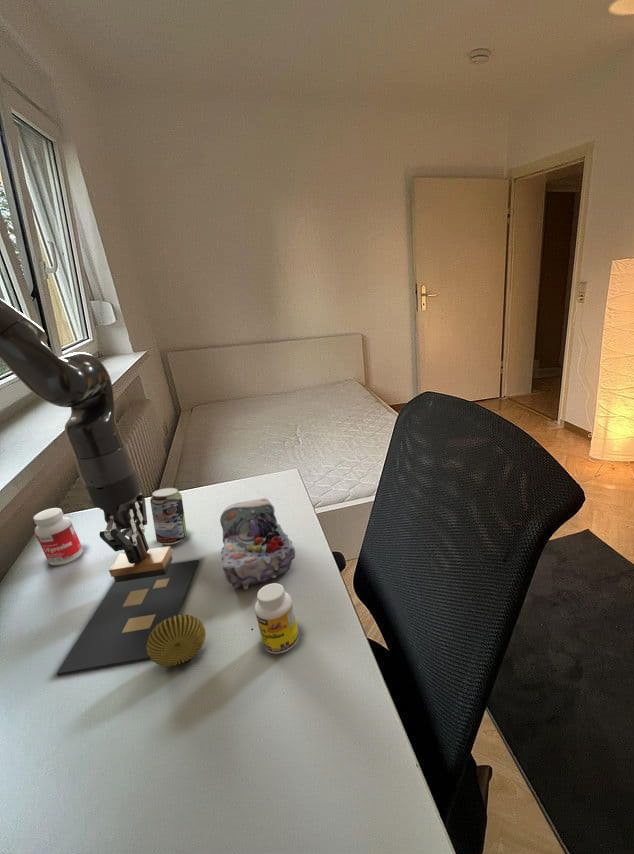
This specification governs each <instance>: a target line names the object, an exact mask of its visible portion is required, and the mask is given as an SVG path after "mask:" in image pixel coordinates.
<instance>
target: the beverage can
mask: <svg viewBox="0 0 634 854" xmlns="http://www.w3.org/2000/svg"><path fill="white" fill-rule="evenodd" d="M149 502H150V508H151V514H152V522H153V526H154V527H153V528H154V534H155V539H156V542H157V543H159V544H162V545H167V546H168V545H169V546H170V545H175V544H178V543H180V542H181V541H183V540H184V539H185V538H186V537H187V535H188V532H187V525H186V524H187V523H186V518H185V517H186V516H185V510H184V509H185V508H184V504H183V496H182V494H181V492H179V490H178V488H176V487H164V488H160V489H159V488H158V489H155V490H154V491H153V492H152V493H151V497H150V499H149Z"/></svg>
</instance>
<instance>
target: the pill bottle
mask: <svg viewBox="0 0 634 854" xmlns="http://www.w3.org/2000/svg"><path fill="white" fill-rule="evenodd" d="M32 518H33V521H34V523H35V525H36V526H35V528H34V534H35V536H36V538H37V541H38V543H39V545H40V547H41V550H42V551H43V554H44V555H45V558H46V560H47V562H48V564H49V565H51V566H61V565H65V564H68V563H71V562H73V561H75V560H76V559H78V558H79V557H81V555H82V554H83V553H84V552H83V551H84V549H83V546H82V544H81V541H80V539H79V536H78V534H77V531H76V530H75V527H74V525H73V522H72V520H71V518H70V517H68V516H65V515H64V512H63V511H62V509H61V508H59V507H52V508H51V507H50V508H47V509H44V510H42V511H39V512H38V513H36V514H35V515H34V516H33V517H32Z"/></svg>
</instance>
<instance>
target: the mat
mask: <svg viewBox="0 0 634 854" xmlns="http://www.w3.org/2000/svg"><path fill="white" fill-rule="evenodd" d="M199 564H200V559H193V560H187V561H186V560H185V561H179V562H174V563H173V562H171V564H170V567H169V569H168V571H167V573H166V575H160V576H154V577H148V578H141V579H135V580H129V581H122V582H115V581H114V582H113V583H112V585H111V586H110V588H109V590H108V591H107V593H106V594H105V596H104V598H103V599H102V600H101V602H100V604H99V605H98V607H97V608H96V610H95V612H94V614H93V615H92V616H91V618H90V620H89V621H88V623H87V625H86V626H85V628H84V630H83V631H82V633H81V634H80V635H79V637H78V639H77V641H76V642H75V644H74V645H73V646H72V649H71V650H70V652H69V653H68V655H67V656H66V658H65V659H64V661H63V662H62V664H61V666H60V667H59V669H58V671H57V672H56V676H63V675H68V674H74V673H80V672H86V671H91V670H97V669H102V668H103V669H104V668H109V667H114V666H119V665H124V664H125V665H126V664H130V663H136V662H142V661H147V660H151V659H150V657H149V655H148V653H147V641H148V637H149V635H150V633H151V632H152V630H153V629H154V628H155V627H156V626H157V625H158V624H159V623H160V622H162V621H164V620H165V619H168V618H169V617H171V618H172V620H173V616H176V619H177V615H180V612H181V609H182V607H183V604H184V601H185V599H186V596H187V594H188V592H189V590H190V586H191V584H192V581H193V579H194V576H195V573H196V571H197V569H198V566H199ZM168 620H169V619H168Z"/></svg>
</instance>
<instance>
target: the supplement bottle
mask: <svg viewBox="0 0 634 854" xmlns="http://www.w3.org/2000/svg"><path fill="white" fill-rule="evenodd" d="M256 597H257V601H256V603H255V604H254V611H255V612H254V613H255V617H256V621H257V624H258V629H259V633H260V637H261V641H262V644H263V648H264V649H265V650H266V651H267V652H268V653H271V654H282V653H285V652H288V651H289V650H291V649H293V648H294V647H295V645H296V644H297V642H298V640H299V628H298V623H297V618H296V613H295V607H294V603H293V598H292V597H291V595H290V594H289V593H288V592H287V591H285V588H284V586H283V585H282V584H280V583H277V582H272V583H268V584H265V585H264V586H262V587H261V588H260V589H259V590H258V592H257V595H256Z"/></svg>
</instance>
